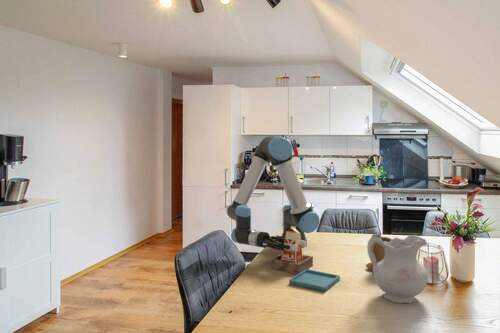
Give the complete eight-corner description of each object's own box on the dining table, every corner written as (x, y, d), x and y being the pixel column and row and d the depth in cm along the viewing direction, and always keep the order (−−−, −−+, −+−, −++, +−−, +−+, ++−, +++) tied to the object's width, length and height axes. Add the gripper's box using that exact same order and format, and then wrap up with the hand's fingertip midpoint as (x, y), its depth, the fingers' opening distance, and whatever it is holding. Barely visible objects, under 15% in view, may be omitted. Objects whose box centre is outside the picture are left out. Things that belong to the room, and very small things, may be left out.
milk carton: (297, 271, 186) (299, 227, 185) (278, 267, 190) (280, 225, 189) (304, 266, 194) (305, 224, 193) (285, 263, 198) (287, 222, 197)
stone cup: (381, 276, 180) (382, 242, 178) (362, 268, 190) (362, 236, 189) (405, 270, 187) (406, 238, 186) (385, 263, 197) (386, 232, 196)
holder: (271, 268, 190) (271, 259, 190) (286, 260, 202) (286, 251, 202) (299, 274, 182) (299, 264, 182) (312, 265, 194) (312, 256, 194)
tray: (289, 284, 171) (289, 279, 170) (305, 273, 184) (306, 268, 184) (325, 292, 162) (325, 287, 162) (339, 280, 175) (339, 275, 175)
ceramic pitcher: (379, 312, 146) (383, 245, 142) (358, 287, 165) (361, 228, 161) (435, 308, 149) (441, 243, 145) (408, 285, 168) (413, 226, 164)
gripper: (248, 236, 192) (290, 243, 180) (270, 227, 209) (311, 233, 197) (248, 251, 193) (290, 259, 180) (270, 241, 210) (310, 248, 197)
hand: (301, 245), depth 189 cm, fingers closed on milk carton, 8 cm apart
